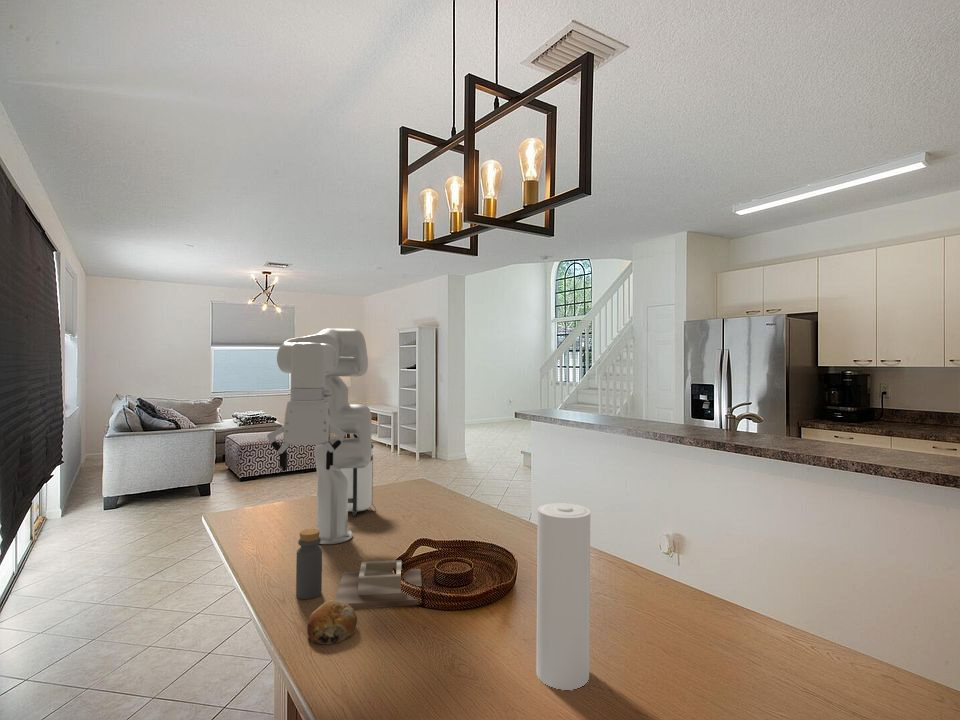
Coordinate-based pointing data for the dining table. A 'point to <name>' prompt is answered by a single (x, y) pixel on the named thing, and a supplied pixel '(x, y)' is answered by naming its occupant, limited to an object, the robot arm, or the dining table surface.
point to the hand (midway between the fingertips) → (306, 469)
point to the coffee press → (360, 486)
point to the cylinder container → (563, 595)
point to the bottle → (309, 565)
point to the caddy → (377, 585)
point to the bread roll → (332, 622)
